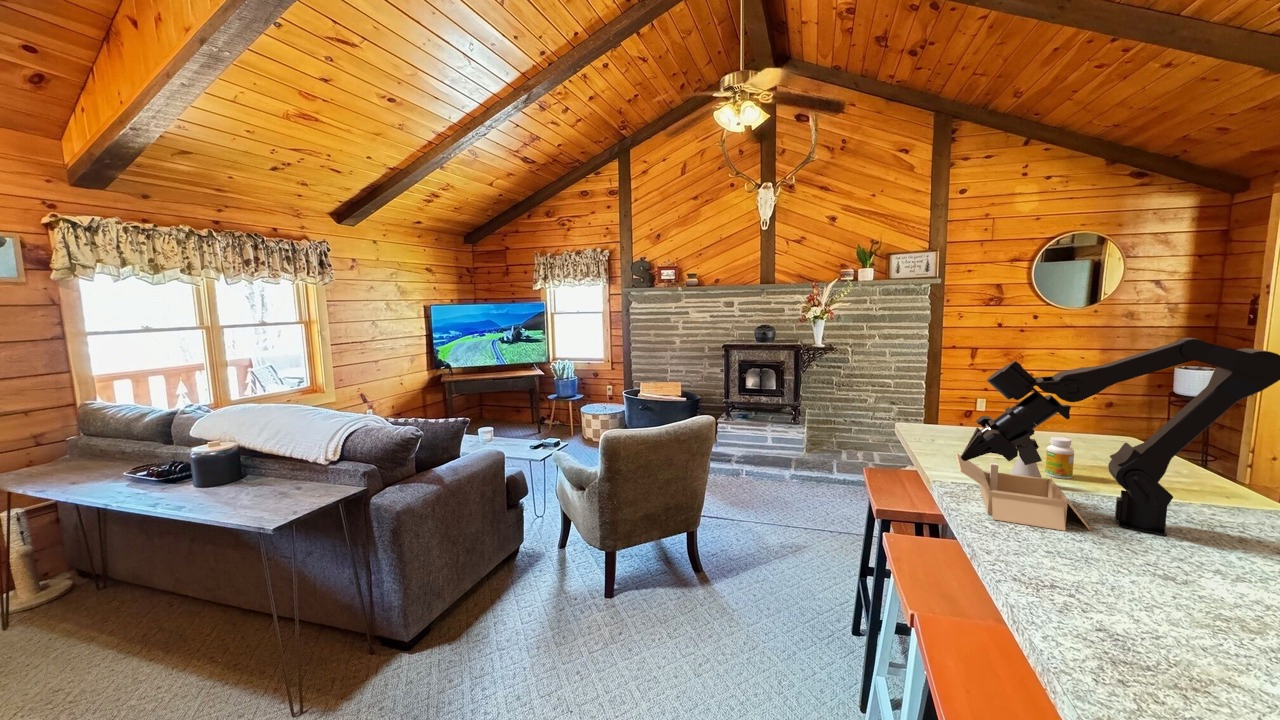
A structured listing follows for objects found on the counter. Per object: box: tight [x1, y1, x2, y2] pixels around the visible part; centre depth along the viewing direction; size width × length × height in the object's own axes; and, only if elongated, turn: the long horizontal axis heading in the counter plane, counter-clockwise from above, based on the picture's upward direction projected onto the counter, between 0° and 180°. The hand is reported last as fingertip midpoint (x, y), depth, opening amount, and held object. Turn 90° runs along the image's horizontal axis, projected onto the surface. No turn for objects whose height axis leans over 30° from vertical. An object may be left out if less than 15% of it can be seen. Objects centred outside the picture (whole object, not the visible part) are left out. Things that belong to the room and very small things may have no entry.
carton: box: [979, 470, 1091, 532], centre depth 107 cm, size 17×20×5 cm
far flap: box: [955, 452, 990, 490], centre depth 111 cm, size 1×14×6 cm
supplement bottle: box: [1044, 436, 1075, 480], centre depth 126 cm, size 5×5×10 cm
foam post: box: [989, 462, 999, 491], centre depth 115 cm, size 1×1×7 cm
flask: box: [1008, 455, 1043, 478], centre depth 121 cm, size 7×7×10 cm
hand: (962, 459), depth 112 cm, fingers closed
